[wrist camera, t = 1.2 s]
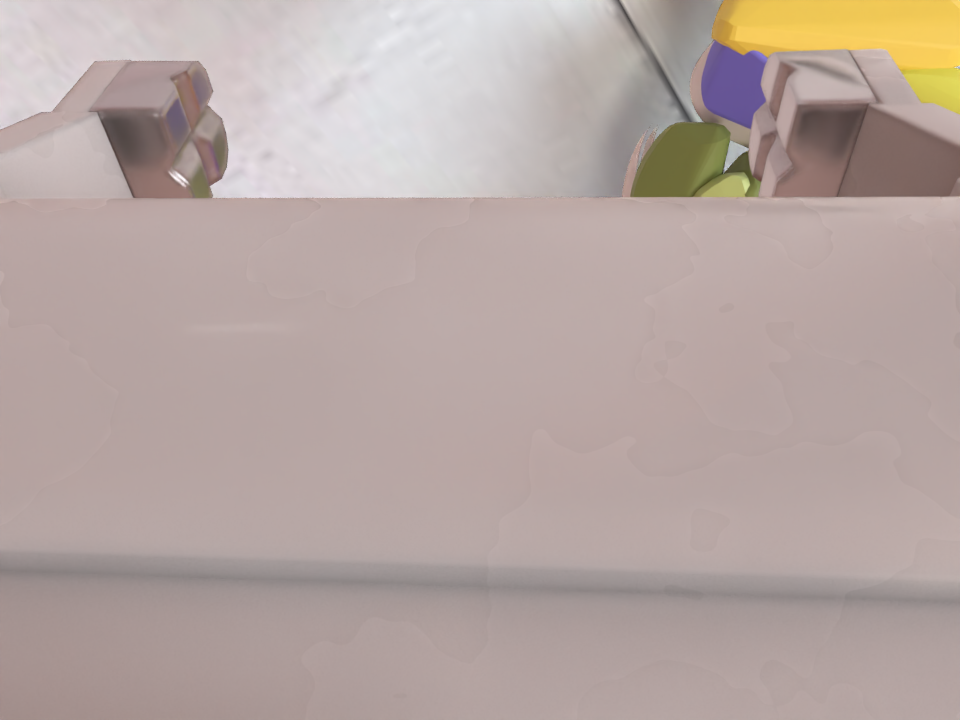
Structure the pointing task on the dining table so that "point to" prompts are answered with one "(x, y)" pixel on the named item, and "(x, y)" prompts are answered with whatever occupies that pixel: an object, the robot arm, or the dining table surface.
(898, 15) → the colorful pinata
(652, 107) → the dining table surface
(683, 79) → the dining table surface
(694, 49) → the dining table surface
